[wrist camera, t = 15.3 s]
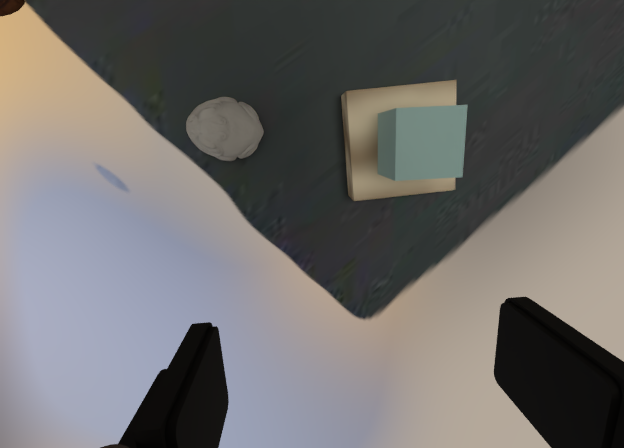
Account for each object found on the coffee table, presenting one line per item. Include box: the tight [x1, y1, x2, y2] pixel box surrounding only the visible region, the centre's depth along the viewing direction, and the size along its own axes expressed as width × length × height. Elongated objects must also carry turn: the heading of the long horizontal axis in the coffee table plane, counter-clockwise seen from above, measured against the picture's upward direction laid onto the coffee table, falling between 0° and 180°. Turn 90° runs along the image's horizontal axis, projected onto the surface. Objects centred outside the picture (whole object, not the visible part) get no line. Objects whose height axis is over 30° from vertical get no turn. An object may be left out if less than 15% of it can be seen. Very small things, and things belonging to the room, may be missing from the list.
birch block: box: [341, 80, 456, 201], centre depth 35 cm, size 11×11×4 cm
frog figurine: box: [186, 97, 264, 161], centre depth 32 cm, size 6×7×7 cm
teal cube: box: [378, 105, 467, 181], centre depth 31 cm, size 6×6×6 cm
